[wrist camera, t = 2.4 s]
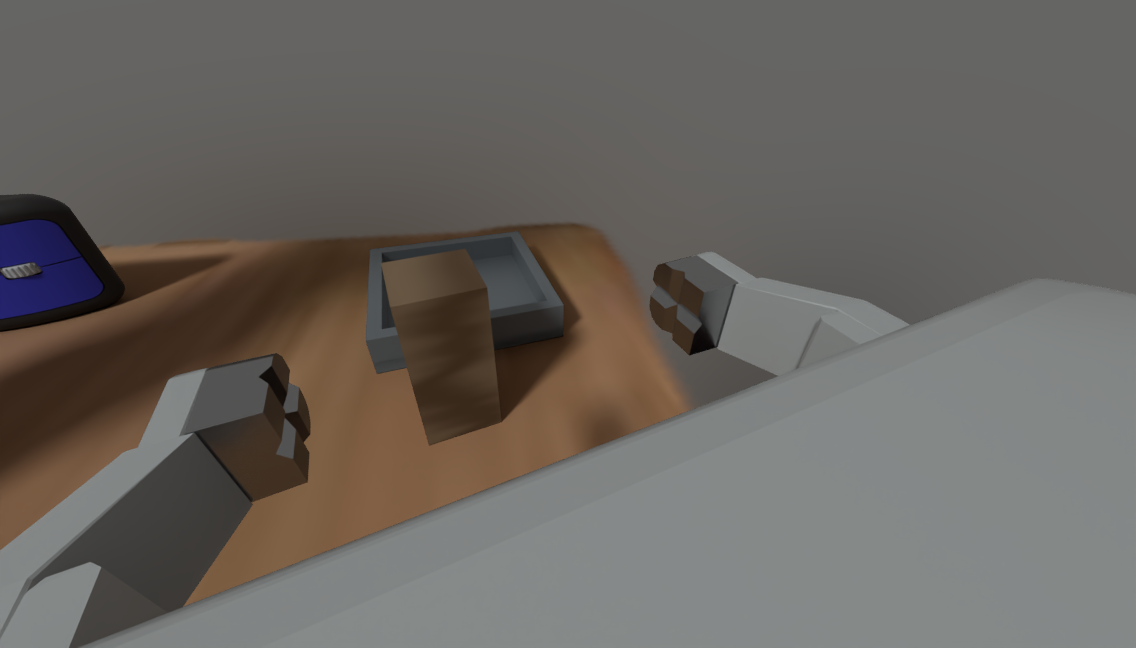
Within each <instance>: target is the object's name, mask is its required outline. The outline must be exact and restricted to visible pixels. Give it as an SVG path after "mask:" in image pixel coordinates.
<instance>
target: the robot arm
mask: <svg viewBox="0 0 1136 648" xmlns="http://www.w3.org/2000/svg"><path fill="white" fill-rule="evenodd" d="M653 281H654V282H655V284H656V286H657V287H656V289H655V290H654V291H653V293H652V294H651V297H650V311H651V315H652V318H653V320H654V321H655V323H656V324H657V325H658V326H659V327H660V328H661V329H662V330H665V331H667V332H670V333H672V337H673V338H672V339H673V341H674V342H675V343H676V344H677V345H679V346H680V347H681V348H682V349H683V350H684V351H685V352H686V353H687V354H688V355H693V354H696V353H699V352H703V351H706V350H709V349H713V348H716V347H718V348H717V349H719V350H721V351H724V352H726V353H728V354H731V355H733V356H735V357H737V358H739V359H742V360H744V361H746V362H748V363H750V364H753V365H755V366H757V367H759V368H762V369H764V370H766V371H768V372H771V373H773V374H775V375H777V377H775V378H772V379H770V380H767V381H765V382H762V383H760V384H757V385H754V386H752V387H749V388H746V389H744V390H741V391H739V392H736V393H733V394H731V395H729V396H726V397H723V398H721V399H718V400H715V401H713V402H710V403H708V404H705V405H703V406H700V407H697V408H695V409H692V410H689V411H687V412H684V413H682V414H679V415H677V416H674V417H671V418H669V419H666V420H664V421H661V422H658V423H656V424H653V425H651V426H648V427H646V428H643V429H640V430H638V431H635V432H633V433H630V434H628V435H625V436H622V437H620V438H617V439H615V440H612V441H610V442H607V443H604V444H602V445H599V446H597V447H594V448H591V449H589V450H586V451H584V452H581V453H579V454H576V455H573V456H571V457H568V458H566V459H563V460H561V461H558V462H555V463H553V464H550V465H548V466H545V467H542V468H540V469H537V470H535V471H532V472H530V473H527V474H524V475H522V476H519V477H517V478H514V479H512V480H509V481H506V482H504V483H501V484H499V485H496V486H493V487H491V488H488V489H486V490H483V491H481V492H478V493H475V494H473V495H470V496H468V497H465V498H463V499H460V500H457V501H455V502H452V503H450V504H447V505H445V506H442V507H439V508H437V509H434V510H432V511H429V512H426V513H424V514H421V515H419V516H416V517H414V518H411V519H408V520H406V521H403V522H401V523H398V524H396V525H393V526H390V527H388V528H385V529H383V530H380V531H377V532H375V533H372V534H370V535H367V536H365V537H362V538H359V539H357V540H354V541H352V542H349V543H347V544H344V545H341V546H339V547H336V548H334V549H331V550H328V551H326V552H323V553H321V554H318V555H316V556H313V557H310V558H308V559H305V560H303V561H300V562H298V563H295V564H292V565H290V566H287V567H285V568H282V569H279V570H277V571H274V572H272V573H269V574H267V575H264V576H261V577H259V578H256V579H254V580H251V581H249V582H246V583H243V584H241V585H238V586H236V587H233V588H230V589H228V590H225V591H223V592H220V593H218V594H215V595H212V596H210V597H207V598H205V599H202V600H200V601H197V602H194V603H192V604H189V605H187V606H184V604H185V603H186V601H187V600H188V598H189V597H190V596H191V594H192V593H193V591H194V590H195V588H196V587H197V585H198V584H199V582H200V581H201V579H202V578H203V577H204V575H205V574H206V572H207V571H208V569H209V568H210V566H211V565H212V563H213V562H214V561H215V559H216V558H217V556H218V555H219V553H220V552H221V550H222V549H223V547H224V546H225V544H226V543H227V542H228V540H229V539H230V537H231V536H232V534H233V533H234V531H235V530H236V528H237V527H238V525H239V524H240V523H241V521H242V520H243V518H244V517H245V515H246V514H247V512H248V511H249V509H250V508H251V507H252V505H253V504H252V503H251V502H254V501H257V500H259V499H262V498H265V497H268V496H271V495H273V494H276V493H279V492H282V491H285V490H287V489H290V488H293V487H296V486H299V485H301V484H304V483H307V482H308V468H309V451H308V450H307V448H306V446H305V444H304V441H305V440H306V439H307V438H308V436H309V435H310V417H309V411H308V407H307V404H306V401H305V398H304V396H303V394H302V392H301V390H300V388H299V387H297V386H295V385H292V384H290V383H289V373H290V369H289V368H288V366H287V364H286V363H285V361H284V359H283V357H282V356H280V355H279V354H277V353H275V354H270V355H265V356H261V357H256V358H251V359H247V360H242V361H237V362H233V363H228V364H223V365H219V366H214V367H211V368H204V369H200V370H196V371H192V372H188V373H183V374H179V375H176V376H174V377H172V378H170V379H169V380H168V381H167V384H166V386H165V388H164V390H163V392H162V395H161V397H160V399H159V401H158V404H157V406H156V408H155V410H154V412H153V415H152V417H151V419H150V421H149V423H148V426H147V428H146V430H145V432H144V435H143V437H142V439H141V441H140V443H139V446H138V448H135V449H132V450H128V451H125V452H124V453H122V454H121V455H120V456H119V457H117V458H116V459H115V460H113V461H112V462H111V463H110V464H108V465H107V466H106V467H105V468H103V469H102V470H101V471H100V472H98V473H97V474H96V475H95V476H93V477H92V478H91V479H90V480H88V481H87V482H86V483H85V484H83V485H82V486H81V487H80V488H78V489H77V490H76V491H75V492H73V493H72V494H71V495H69V496H68V497H67V498H66V499H64V500H63V501H62V502H61V503H59V504H58V505H57V506H56V507H54V508H53V509H52V510H51V511H49V512H48V513H47V514H46V515H44V516H43V517H42V518H41V519H39V520H38V521H37V522H36V523H34V524H33V525H32V526H30V527H29V528H28V529H27V530H25V531H24V532H23V533H22V534H20V535H19V536H18V537H17V538H15V539H14V540H13V541H12V542H10V543H9V544H8V545H7V546H5V547H4V548H3V549H2V550H0V648H1136V295H1135V294H1131V293H1126V292H1123V291H1117V290H1113V289H1107V288H1103V287H1097V286H1091V285H1086V284H1080V283H1073V282H1067V281H1061V280H1055V279H1044V278H1039V279H1030V280H1026V281H1023V282H1019V283H1016V284H1014V285H1011V286H1009V287H1007V288H1004V289H1002V290H999V291H997V292H994V293H992V294H989V295H986V296H984V297H981V298H978V299H976V300H973V301H971V302H968V303H966V304H963V305H960V306H958V307H955V308H953V309H950V310H948V311H945V312H942V313H940V314H937V315H935V316H932V317H929V318H927V319H925V320H922V321H919V322H917V323H914V324H911V325H910V324H908V323H906V322H904V321H902V320H901V319H899V318H897V317H895V316H893V315H891V314H889V313H888V312H886V311H884V310H882V309H880V308H878V307H876V306H875V305H873V304H871V303H869V302H867V301H865V300H862V299H857V298H853V297H848V296H844V295H839V294H835V293H830V292H826V291H821V290H817V289H812V288H808V287H803V286H799V285H794V284H790V283H785V282H781V281H776V280H772V279H767V278H763V277H761V278H756V277H754V276H752V275H751V274H749V273H747V272H746V271H744V270H743V269H741V268H739V267H738V266H736V265H734V264H733V263H731V262H729V261H728V260H726V259H725V258H723V257H721V256H720V255H718V254H717V253H715V252H704V253H700V254H697V255H693V256H691V257H687V258H683V259H679V260H675V261H671V262H667V263H664V264H660V265H658V266H657V267H656V270H655V271H654V277H653ZM183 606H184V607H183Z"/></svg>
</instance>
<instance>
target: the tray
mask: <svg viewBox="0 0 1136 648" xmlns="http://www.w3.org/2000/svg"><path fill="white" fill-rule="evenodd" d="M461 249H466V251H467V253H468V254H469V256H470V258H471V260H472V261H473V263H474V265H475V267H476V268H477V270H478V272H479V274H480V275H481V277H482V279H483V281H484V283H485V284H486V286H487V290H488V299H489V308H490V318H491V327H492V336H493V346H494V350H496V349H501V348H506V347H511V346H516V345H521V344H526V343H531V342H536V341H541V340H546V339H551V338H555V337H560V336H563V316H564V305H563V303H562V302H561V300H560V298H559V297H558V295H557V293H556V292H555V290H554V288H553V287H552V285H551V284H550V282H549V280H548V279H547V277H546V275H545V274H544V272H543V271H542V269H541V267H540V266H539V264H538V262H537V261H536V259H535V257H534V256H533V254H532V253H531V251H530V249H529V248H528V246H527V244H526V243H525V241H524V240H523V238H522V236H521V235H520V233H519V231H516V232H508V233H500V234H492V235H483V236H475V237H467V238H459V239H451V240H443V241H434V242H426V243H418V244H410V245H402V246H393V247H385V248H377V249H370V260H369V281H368V302H367V322H366V343H367V346H368V349H369V352H370V355H371V358H372V361H373V364H374V367H375V370H376V372H377V373H382V372H387V371H392V370H397V369H402V368H407V365H406V362H405V358H404V355H403V351H402V348H401V344H400V340H399V337H398V333H397V330H396V326H395V323H394V319H393V316H392V312H391V308H390V304H389V299H388V294H387V290H386V285H385V280H384V275H383V270H382V265H381V263H384V262H390V261H396V260H402V259H408V258H414V257H420V256H425V255H431V254H437V253H443V252H449V251H455V250H461Z"/></svg>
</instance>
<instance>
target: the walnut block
mask: <svg viewBox="0 0 1136 648" xmlns="http://www.w3.org/2000/svg"><path fill="white" fill-rule="evenodd" d="M381 265H382V270H383V275H384V280H385V285H386V290H387V294H388V299H389V304H390V308H391V312H392V316H393V319H394V323H395V326H396V330H397V333H398V337H399V340H400V344H401V348H402V351H403V355H404V358H405V362H406V365H407V369H408V372H409V376H410V380H411V383H412V387H413V390H414V394H415V397H416V401H417V404H418V408H419V412H420V415H421V419H422V422H423V426H424V429H425V433H426V436H427V440H428V444H429V445H432V444H435V443H438V442H442V441H445V440H448V439H451V438H454V437H457V436H460V435H463V434H466V433H469V432H472V431H475V430H478V429H481V428H484V427H488V426H491V425H494V424H497V423H500V422H502V420H501V410H500V401H499V392H498V383H497V373H496V364H495V355H494V346H493V336H492V327H491V318H490V308H489V299H488V290H487V286H486V284H485V283H484V281H483V279H482V277H481V275H480V274H479V272H478V270H477V268H476V267H475V265H474V263H473V261H472V260H471V258H470V256H469V254H468V253H467V251H466V249H461V250H455V251H449V252H443V253H437V254H431V255H425V256H420V257H414V258H408V259H402V260H396V261H390V262H384V263H381Z"/></svg>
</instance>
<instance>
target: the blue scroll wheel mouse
mask: <svg viewBox="0 0 1136 648" xmlns="http://www.w3.org/2000/svg"><path fill="white" fill-rule="evenodd" d="M124 291H125V286H124V284H123V282H122V281H121V279H120V278H119V276H118V275H117V274H116V272H115V271H114V269H113V268H112V267H111V265H110V264H109V262H108V261H107V260H106V258H105V257H104V256H103V254H102V253H101V251H100V250H99V249H98V247H97V246H96V244H95V243H94V242H93V240H92V239H91V237H90V236H89V235H88V233H87V232H86V230H85V229H84V228H83V226H82V225H81V223H80V222H79V221H78V219H77V218H76V216H75V215H74V214H73V212H72V211H71V209H70V208H69V207H68V206H66V205H65V204H63V203H62V202H60V201H58V200H55V199H52V198H49V197H46V196H41V195H34V194H19V195H0V331H2V330H8V329H15V328H21V327H26V326H32V325H37V324H42V323H47V322H51V321H56V320H60V319H64V318H68V317H72V316H76V315H80V314H83V313H87V312H90V311H94V310H97V309H100V308H103V307H106V306H108V305H110V304H112V303H114V302H115V301H117V300H118V299H120V298H121V297H122V295H123V294H124Z"/></svg>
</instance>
